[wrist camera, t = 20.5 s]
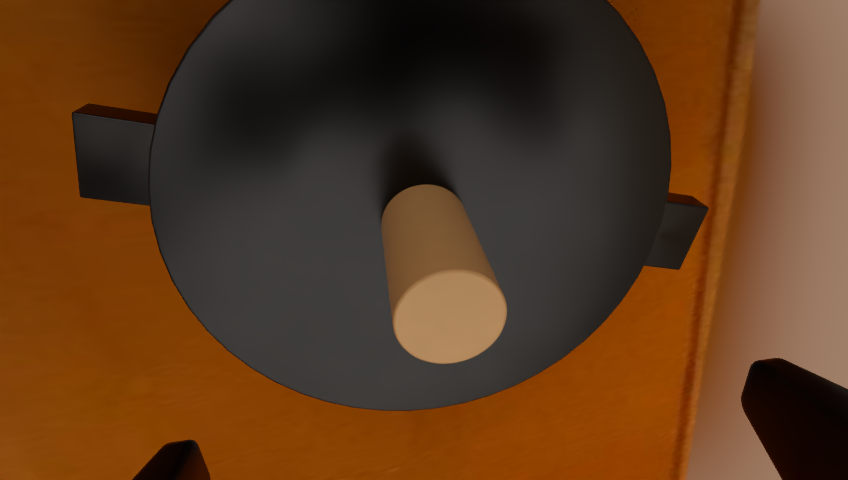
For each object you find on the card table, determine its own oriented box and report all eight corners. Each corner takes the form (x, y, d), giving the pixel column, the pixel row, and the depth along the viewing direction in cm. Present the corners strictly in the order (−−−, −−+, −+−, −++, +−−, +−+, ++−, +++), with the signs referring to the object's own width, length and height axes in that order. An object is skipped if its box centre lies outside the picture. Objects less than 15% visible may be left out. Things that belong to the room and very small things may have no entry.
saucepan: (577, 319, 25) (630, 403, 20) (143, 277, 21) (85, 369, 16) (700, 14, 19) (815, 33, 14) (125, -121, 15) (25, -155, 10)
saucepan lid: (565, 399, 20) (633, 539, 15) (165, 375, 18) (94, 537, 13) (736, -4, 14) (943, 19, 9) (152, -146, 11) (-4, -226, 6)
